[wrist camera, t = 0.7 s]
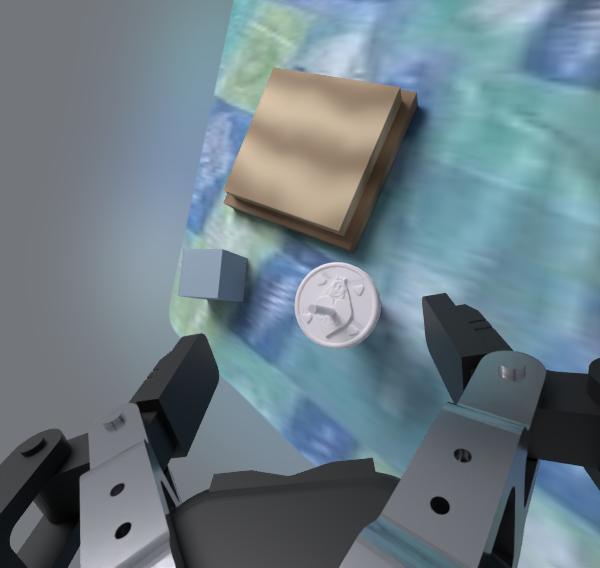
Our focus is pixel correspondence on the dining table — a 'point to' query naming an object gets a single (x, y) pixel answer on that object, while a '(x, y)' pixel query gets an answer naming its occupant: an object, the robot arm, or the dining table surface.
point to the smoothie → (337, 305)
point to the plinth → (319, 154)
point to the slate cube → (212, 275)
